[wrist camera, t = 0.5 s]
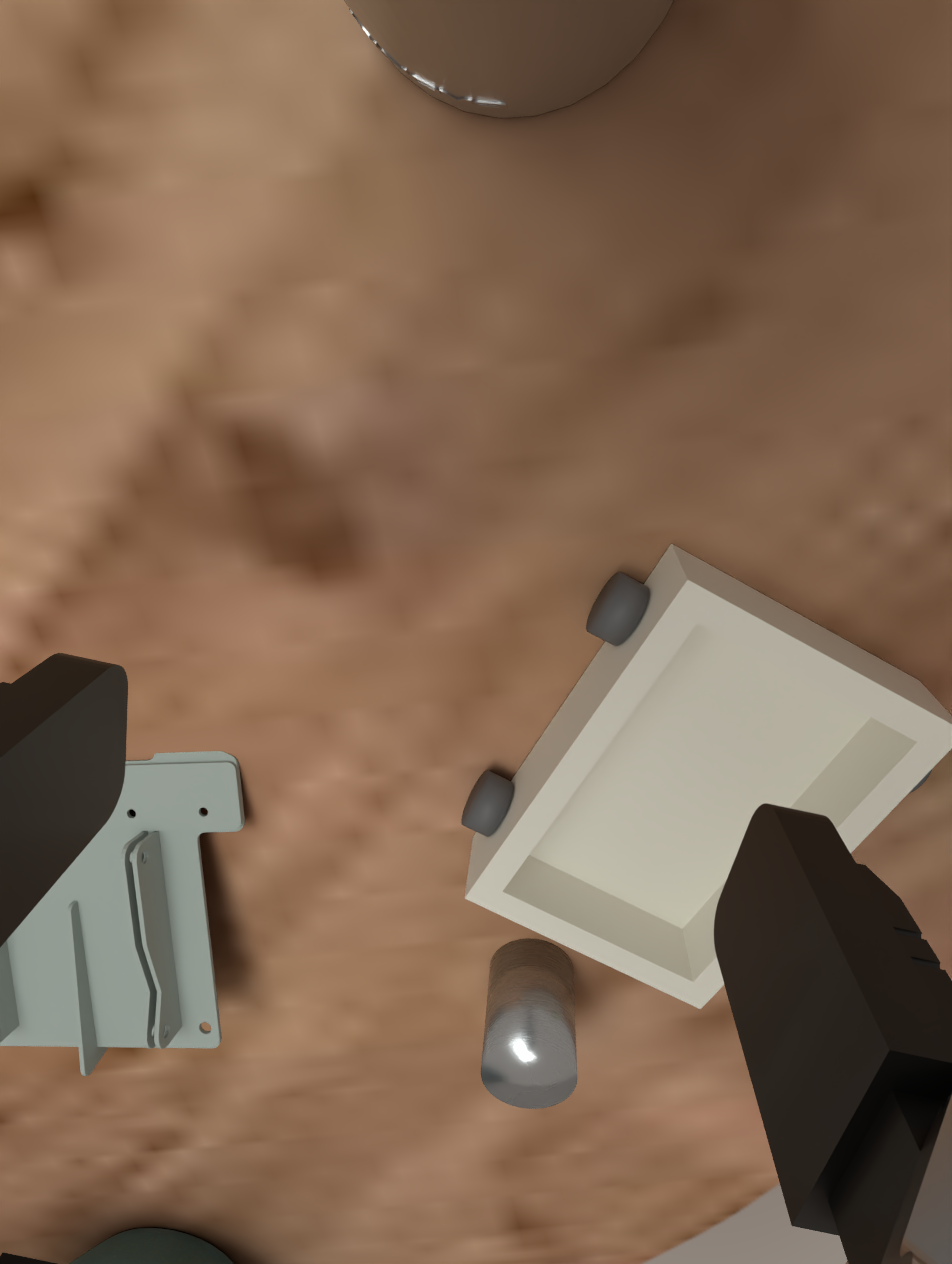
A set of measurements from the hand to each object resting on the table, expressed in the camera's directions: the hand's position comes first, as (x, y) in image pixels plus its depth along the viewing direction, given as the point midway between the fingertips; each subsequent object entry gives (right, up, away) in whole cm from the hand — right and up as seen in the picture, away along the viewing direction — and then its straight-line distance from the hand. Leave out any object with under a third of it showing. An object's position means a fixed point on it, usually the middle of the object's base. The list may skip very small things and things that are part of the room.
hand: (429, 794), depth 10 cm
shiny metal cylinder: (+3, -13, +24) cm, 27 cm away
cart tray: (+8, -3, +19) cm, 21 cm away
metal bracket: (-16, -9, +25) cm, 31 cm away
